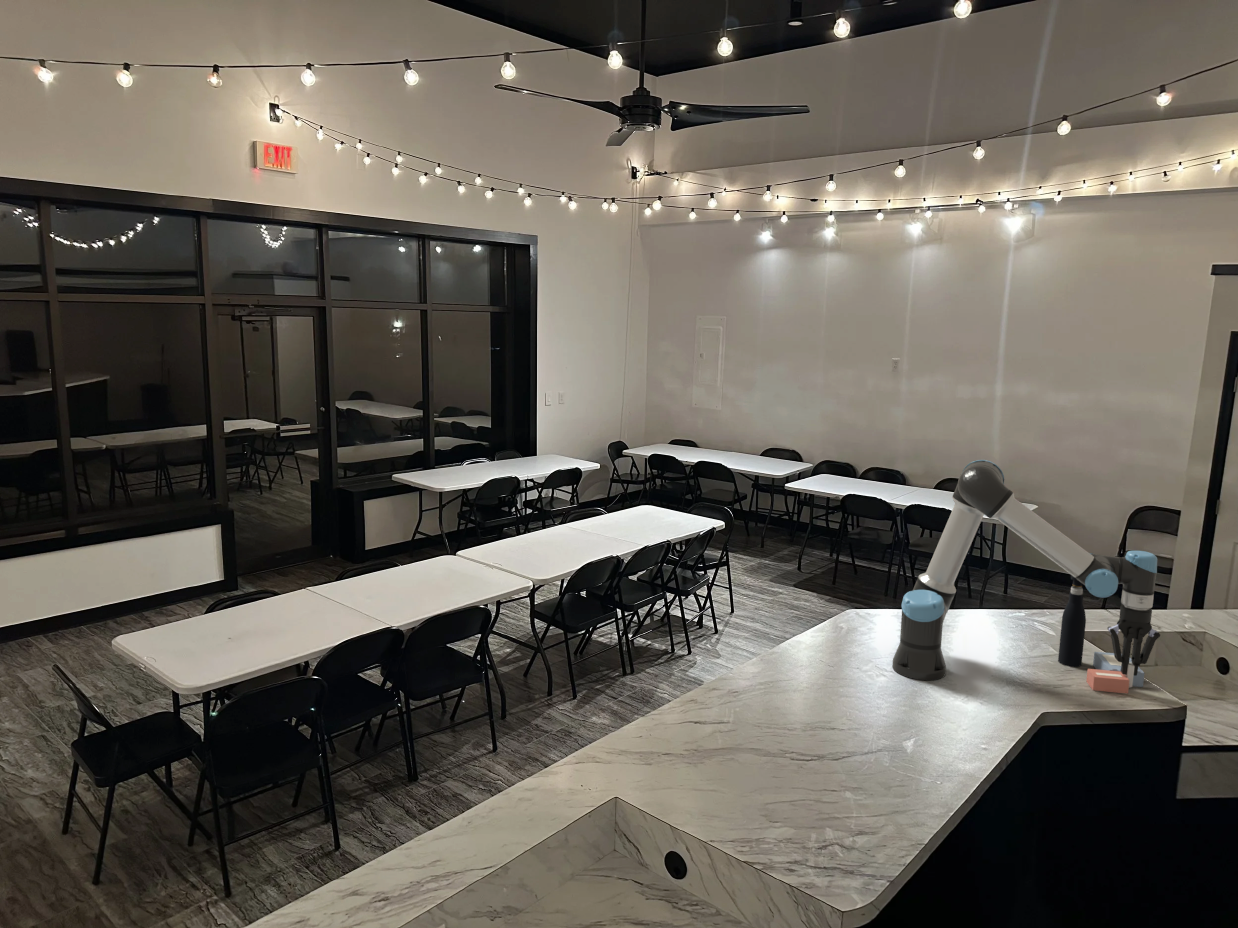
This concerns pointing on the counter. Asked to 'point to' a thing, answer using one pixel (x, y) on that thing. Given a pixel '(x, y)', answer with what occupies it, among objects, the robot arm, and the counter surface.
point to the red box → (1107, 681)
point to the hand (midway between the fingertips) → (1127, 685)
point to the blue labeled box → (1115, 666)
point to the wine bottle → (1073, 628)
